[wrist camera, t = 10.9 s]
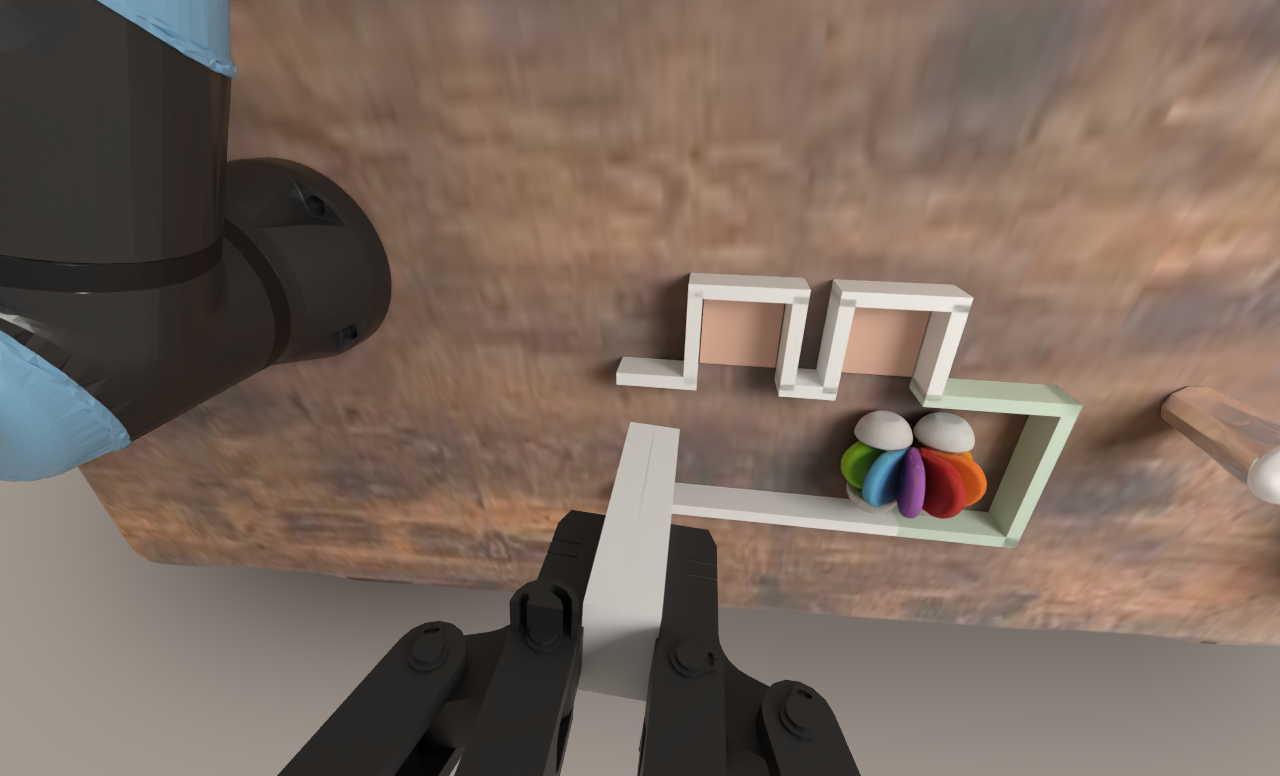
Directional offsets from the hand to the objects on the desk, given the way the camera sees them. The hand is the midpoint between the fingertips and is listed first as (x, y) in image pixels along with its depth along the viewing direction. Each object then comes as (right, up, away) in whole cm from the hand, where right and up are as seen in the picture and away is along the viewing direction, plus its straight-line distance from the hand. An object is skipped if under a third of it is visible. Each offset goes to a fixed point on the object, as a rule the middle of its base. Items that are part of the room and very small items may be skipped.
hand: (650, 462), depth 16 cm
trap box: (+14, +1, +24) cm, 28 cm away
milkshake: (+39, +2, +21) cm, 44 cm away
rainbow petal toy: (+21, -3, +26) cm, 33 cm away
